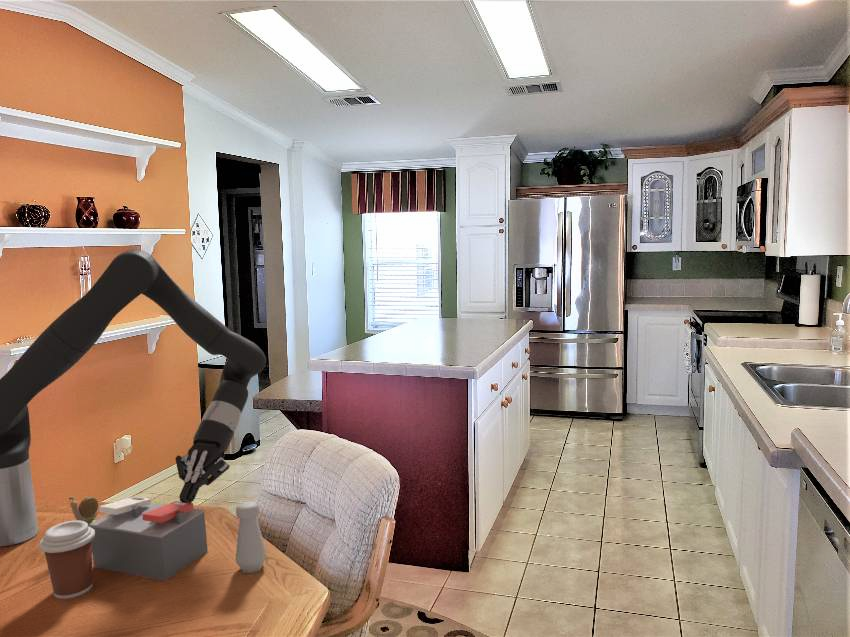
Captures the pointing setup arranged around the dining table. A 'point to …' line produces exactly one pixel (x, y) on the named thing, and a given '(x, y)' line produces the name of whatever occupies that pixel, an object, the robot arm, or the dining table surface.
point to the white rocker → (124, 505)
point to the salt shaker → (249, 539)
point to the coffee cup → (69, 558)
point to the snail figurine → (85, 509)
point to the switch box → (148, 542)
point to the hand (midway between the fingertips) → (184, 502)
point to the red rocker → (167, 511)
